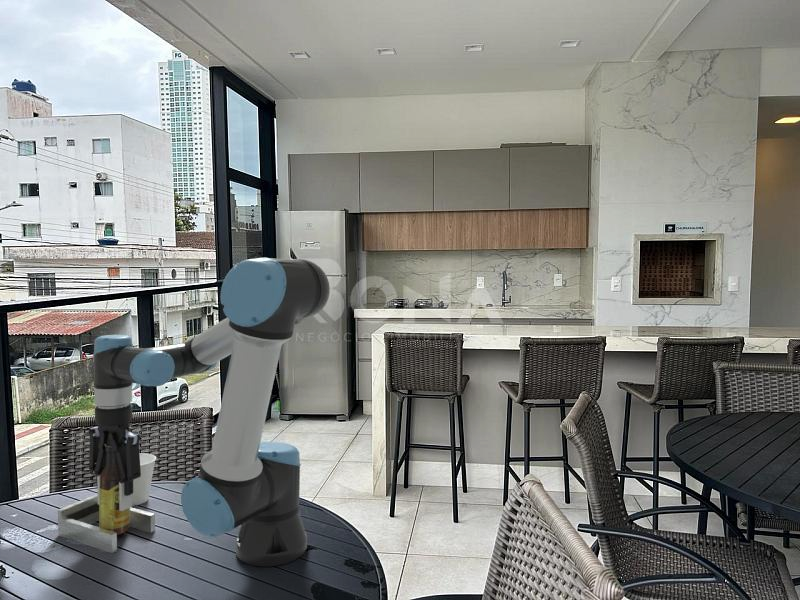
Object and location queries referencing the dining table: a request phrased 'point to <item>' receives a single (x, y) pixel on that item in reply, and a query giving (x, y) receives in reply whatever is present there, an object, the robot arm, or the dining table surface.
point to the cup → (143, 479)
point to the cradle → (78, 527)
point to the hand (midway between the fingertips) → (114, 505)
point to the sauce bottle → (111, 496)
